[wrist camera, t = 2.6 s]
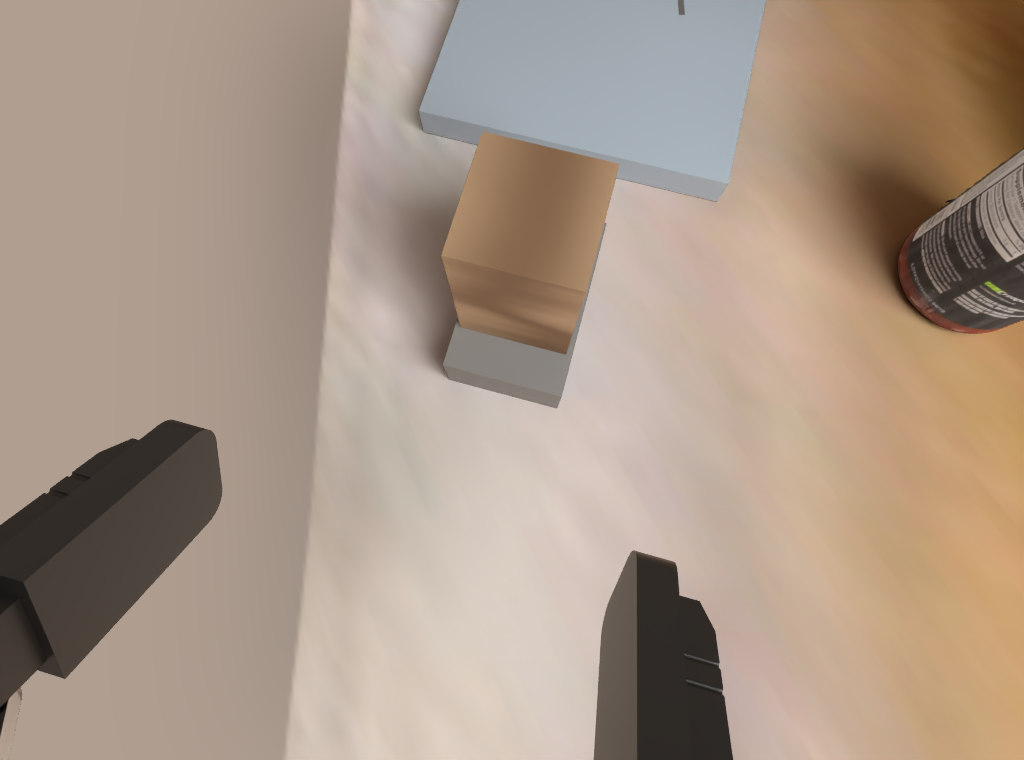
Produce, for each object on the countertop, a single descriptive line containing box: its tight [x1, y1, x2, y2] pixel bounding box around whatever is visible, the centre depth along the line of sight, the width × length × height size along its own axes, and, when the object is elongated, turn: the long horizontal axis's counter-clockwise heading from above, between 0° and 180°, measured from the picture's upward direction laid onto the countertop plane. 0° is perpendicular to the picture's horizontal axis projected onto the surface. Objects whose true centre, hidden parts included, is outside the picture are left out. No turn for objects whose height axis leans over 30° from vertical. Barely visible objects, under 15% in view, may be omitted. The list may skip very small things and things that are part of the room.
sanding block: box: [441, 131, 620, 408], centre depth 22 cm, size 5×8×9 cm, turn 165°
